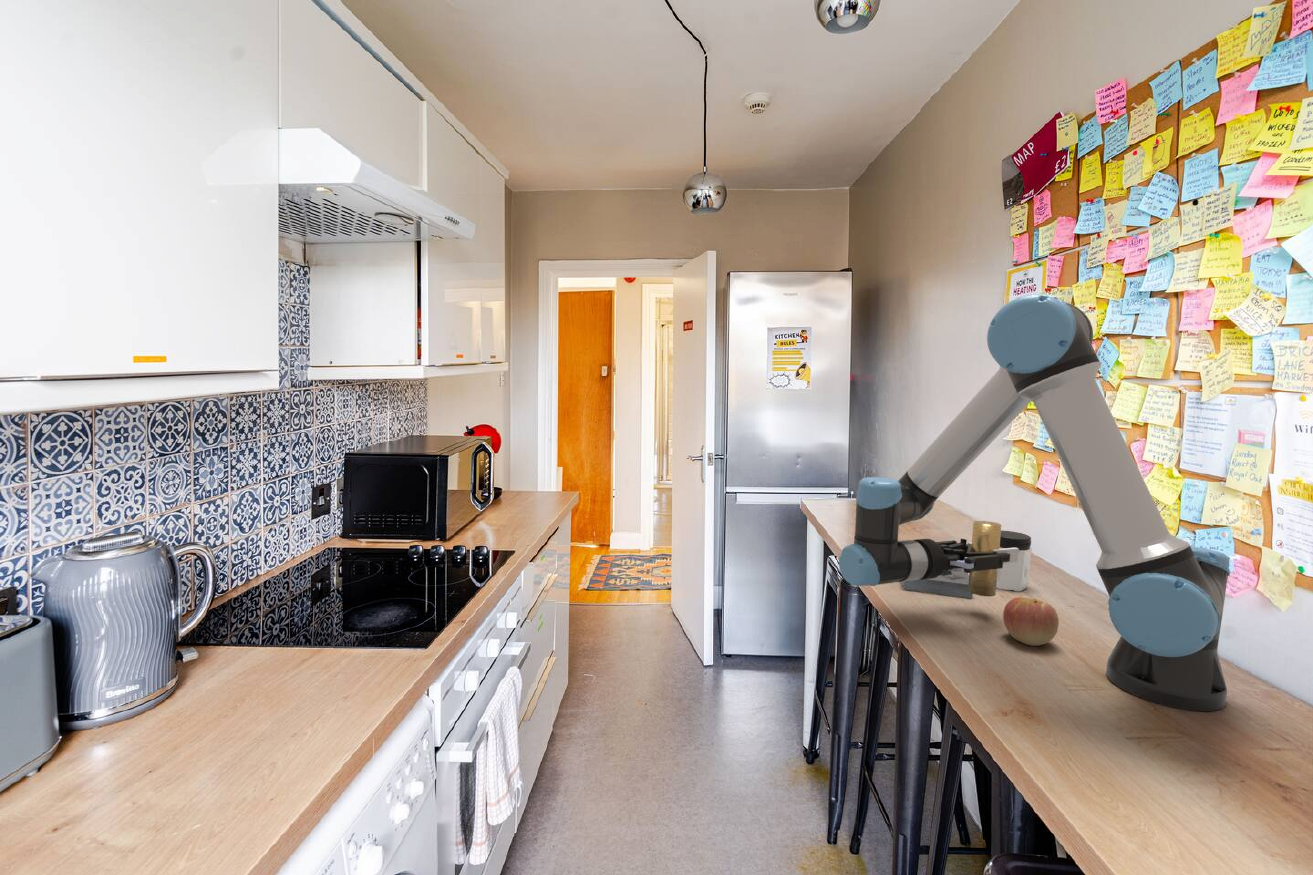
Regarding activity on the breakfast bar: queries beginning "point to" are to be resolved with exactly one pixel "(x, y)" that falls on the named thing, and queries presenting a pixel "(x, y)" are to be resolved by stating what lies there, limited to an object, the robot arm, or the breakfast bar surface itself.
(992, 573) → the brass cylinder
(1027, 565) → the jar
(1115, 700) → the breakfast bar surface
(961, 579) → the jig
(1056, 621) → the apple
